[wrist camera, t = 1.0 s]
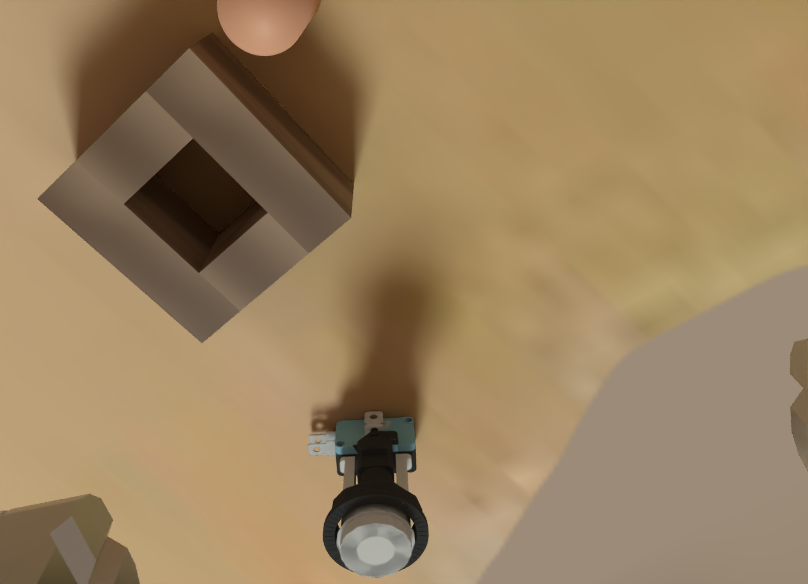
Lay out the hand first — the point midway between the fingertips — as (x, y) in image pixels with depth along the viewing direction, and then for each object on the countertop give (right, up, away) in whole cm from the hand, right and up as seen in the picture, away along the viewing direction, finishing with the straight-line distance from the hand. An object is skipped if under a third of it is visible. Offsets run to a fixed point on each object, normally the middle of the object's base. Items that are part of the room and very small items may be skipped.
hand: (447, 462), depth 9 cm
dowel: (-6, +16, +27) cm, 32 cm away
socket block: (-10, +8, +30) cm, 33 cm away
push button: (-3, -6, +38) cm, 39 cm away
